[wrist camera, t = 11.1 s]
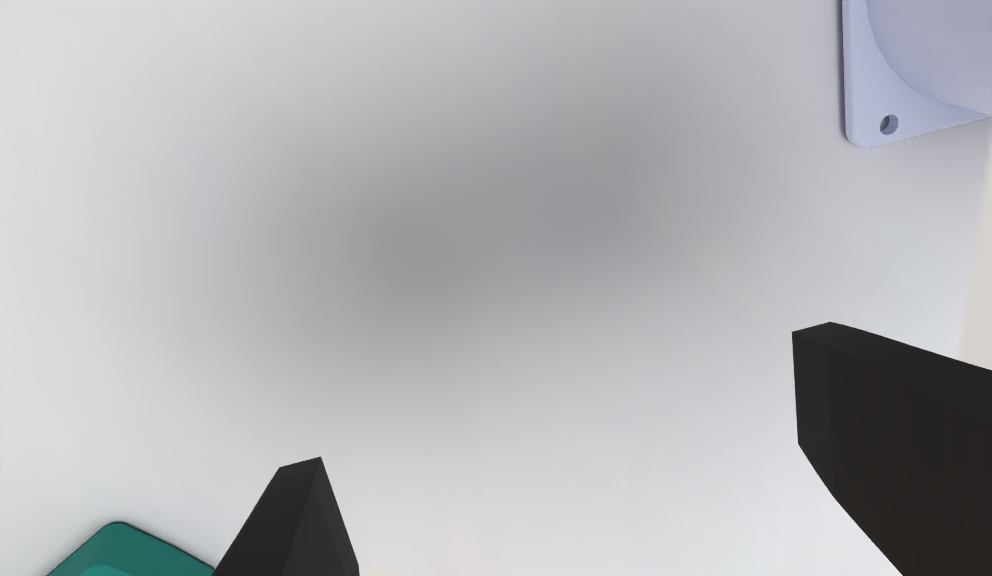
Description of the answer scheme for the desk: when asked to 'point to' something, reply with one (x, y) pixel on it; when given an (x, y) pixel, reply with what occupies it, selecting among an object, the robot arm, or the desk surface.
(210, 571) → the digital multimeter
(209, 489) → the desk surface
